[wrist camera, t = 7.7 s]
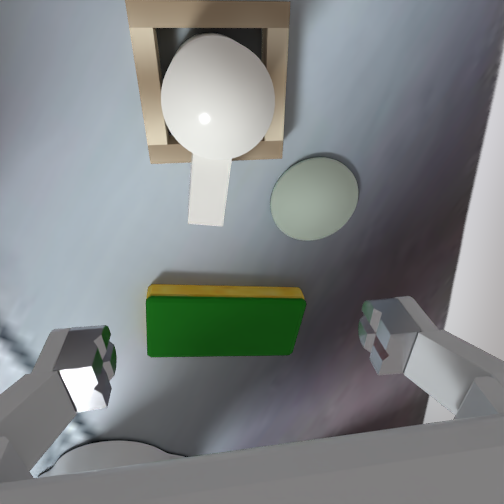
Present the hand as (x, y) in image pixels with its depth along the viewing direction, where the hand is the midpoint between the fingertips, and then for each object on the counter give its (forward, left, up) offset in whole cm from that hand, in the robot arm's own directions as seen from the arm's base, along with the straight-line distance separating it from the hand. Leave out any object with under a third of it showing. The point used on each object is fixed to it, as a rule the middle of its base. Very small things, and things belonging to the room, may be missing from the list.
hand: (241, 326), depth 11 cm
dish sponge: (-15, 0, -17) cm, 23 cm away
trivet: (-4, -8, -17) cm, 19 cm away
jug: (+3, 0, -17) cm, 17 cm away
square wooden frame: (+5, 0, -17) cm, 17 cm away
